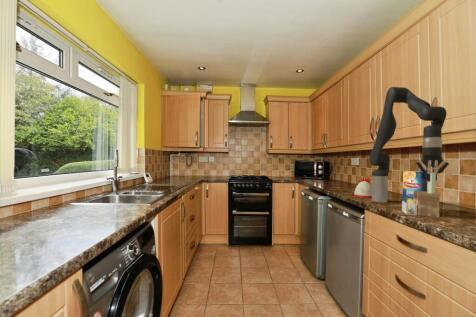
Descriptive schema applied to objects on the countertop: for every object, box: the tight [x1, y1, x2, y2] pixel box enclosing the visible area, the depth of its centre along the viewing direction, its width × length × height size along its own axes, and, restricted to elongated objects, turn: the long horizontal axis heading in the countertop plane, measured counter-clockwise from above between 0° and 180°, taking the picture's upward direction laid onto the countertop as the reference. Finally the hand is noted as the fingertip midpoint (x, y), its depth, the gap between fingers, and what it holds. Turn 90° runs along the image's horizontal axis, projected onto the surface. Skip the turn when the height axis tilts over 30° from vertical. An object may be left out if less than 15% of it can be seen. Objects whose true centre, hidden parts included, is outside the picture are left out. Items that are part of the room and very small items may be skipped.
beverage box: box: [402, 170, 433, 210], centre depth 130 cm, size 7×11×22 cm, turn 11°
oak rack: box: [413, 191, 440, 218], centre depth 119 cm, size 9×8×12 cm
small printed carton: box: [401, 200, 418, 216], centre depth 122 cm, size 10×4×6 cm, turn 155°
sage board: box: [427, 172, 436, 194], centre depth 118 cm, size 6×2×18 cm, turn 156°
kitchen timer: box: [353, 176, 372, 199], centre depth 181 cm, size 14×14×15 cm
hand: (431, 181), depth 118 cm, fingers closed on sage board, 1 cm apart
